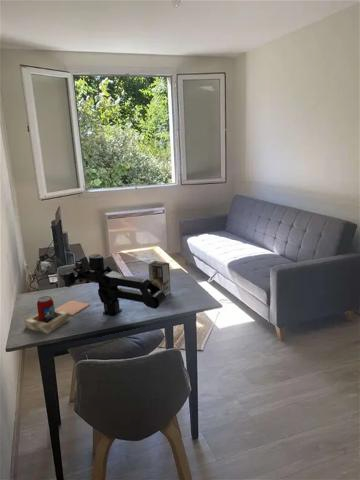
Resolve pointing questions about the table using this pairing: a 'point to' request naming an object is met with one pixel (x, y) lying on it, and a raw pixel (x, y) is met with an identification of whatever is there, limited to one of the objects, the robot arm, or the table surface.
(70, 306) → the mat
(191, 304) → the table surface
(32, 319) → the holder
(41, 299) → the beverage can
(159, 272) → the coffee box
